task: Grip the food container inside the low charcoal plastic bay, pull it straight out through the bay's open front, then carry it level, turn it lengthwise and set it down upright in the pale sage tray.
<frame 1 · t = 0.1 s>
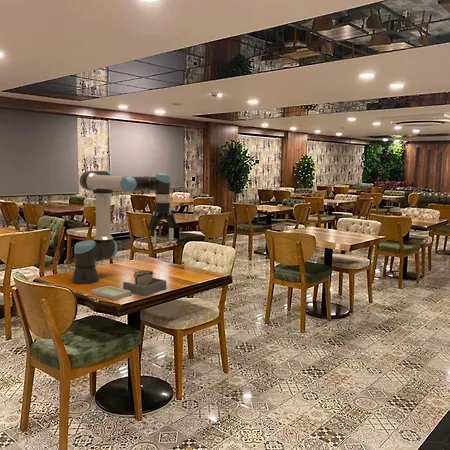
hand: (162, 241, 239), 28 cm above the table, tool pointing down, fingers open, 13 cm apart
food container: (141, 289, 244), on the table
tray: (111, 295, 232), on the table
bay: (141, 289, 244), on the table
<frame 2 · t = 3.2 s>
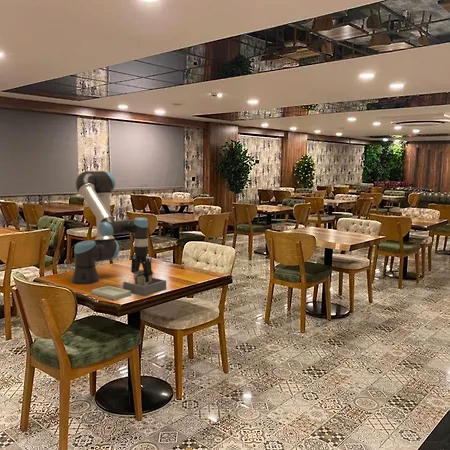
hand: (141, 286, 244), 1 cm above the table, tool pointing down, fingers closed on food container, 6 cm apart
food container: (141, 289, 244), on the table, touching gripper
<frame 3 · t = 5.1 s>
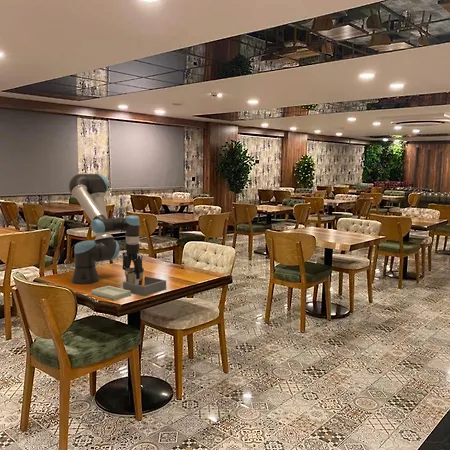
hand: (132, 283, 248), 2 cm above the table, tool pointing down, fingers closed on food container, 6 cm apart
food container: (132, 286, 248), on the table, touching gripper
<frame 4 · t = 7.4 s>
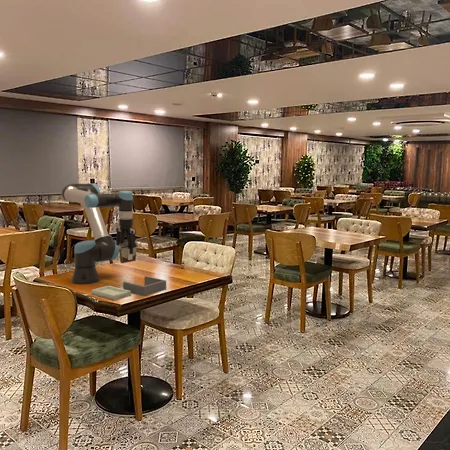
hand: (125, 258, 249), 16 cm above the table, tool pointing down, fingers closed on food container, 6 cm apart
food container: (125, 261, 249), point 14 cm above the table, touching gripper
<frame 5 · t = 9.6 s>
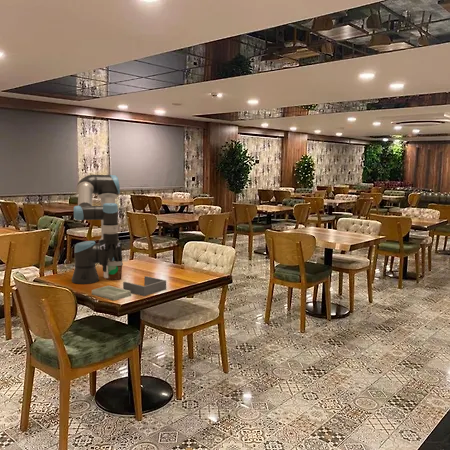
hand: (111, 276, 230), 10 cm above the table, tool pointing down, fingers closed on food container, 6 cm apart
food container: (110, 279, 230), point 9 cm above the table, touching gripper
when the fingers open (3 cm above the table, at t = 11.6 s): food container stays where it is, resting on tray.
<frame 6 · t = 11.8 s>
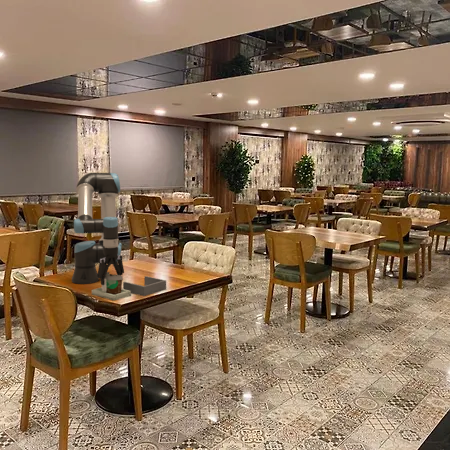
hand: (111, 288, 231), 3 cm above the table, tool pointing down, fingers open, 9 cm apart
food container: (110, 293, 231), point 1 cm above the table, touching tray
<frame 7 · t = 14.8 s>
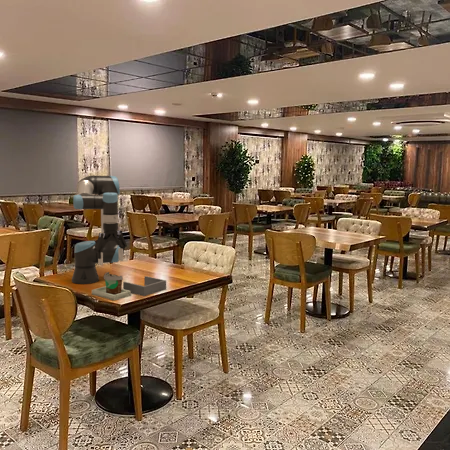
hand: (110, 262, 230), 17 cm above the table, tool pointing down, fingers open, 13 cm apart
nothing on the table moved.
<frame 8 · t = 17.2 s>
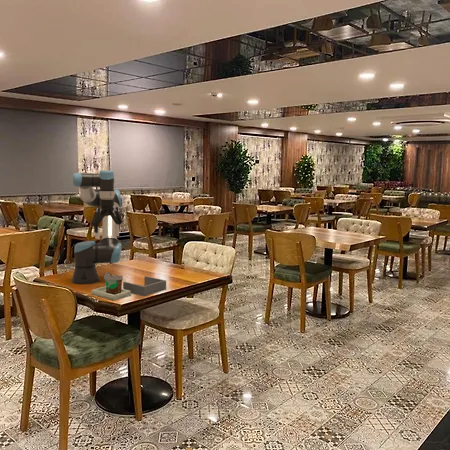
hand: (107, 237, 241), 29 cm above the table, tool pointing down, fingers open, 13 cm apart
nothing on the table moved.
at the end: food container 0.2 cm off-centre on the tray, point 0.8 cm above the tray's base; food container tilted 0°; the gripper is holding nothing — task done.
